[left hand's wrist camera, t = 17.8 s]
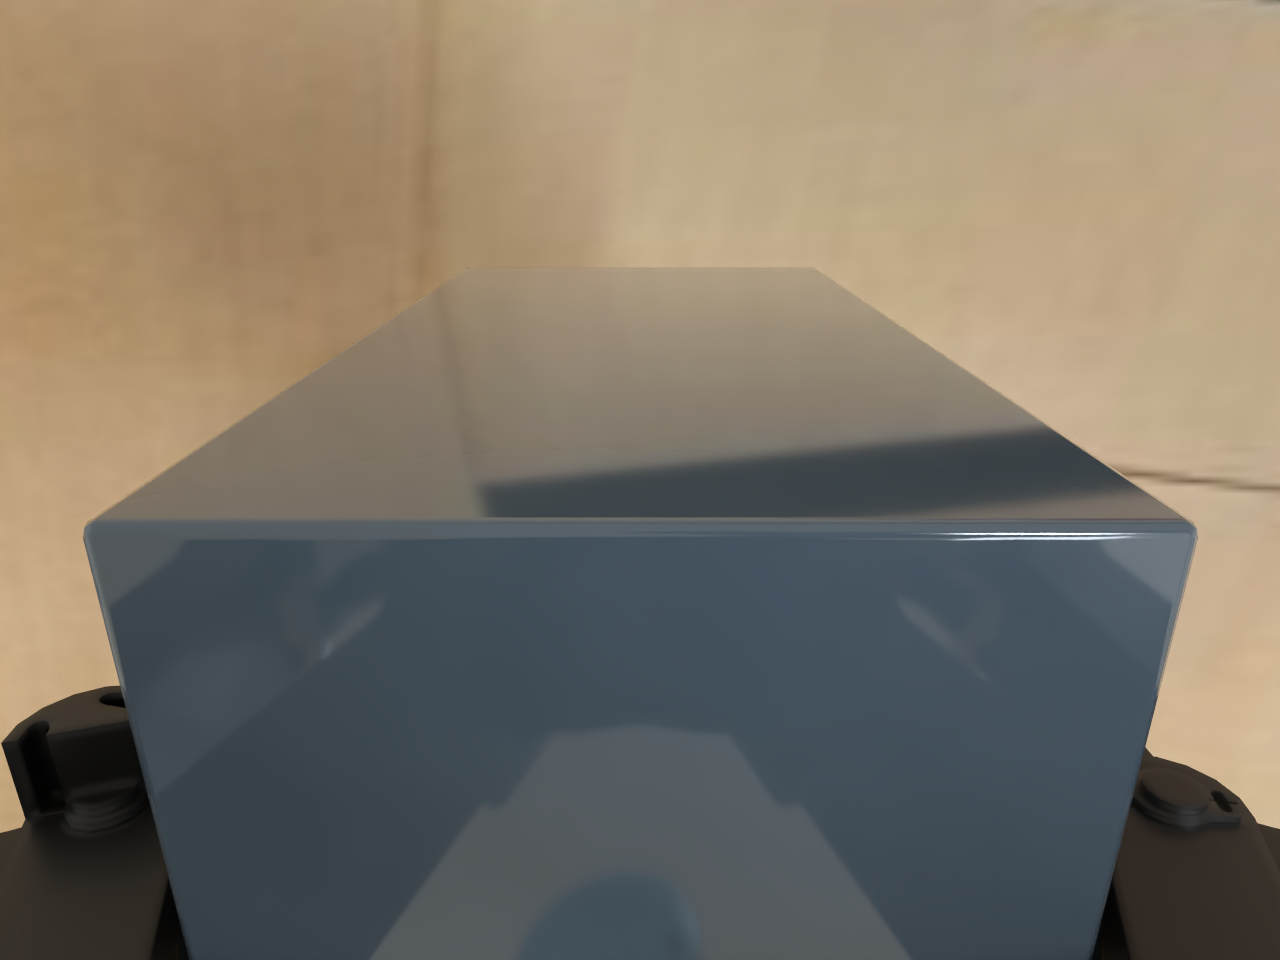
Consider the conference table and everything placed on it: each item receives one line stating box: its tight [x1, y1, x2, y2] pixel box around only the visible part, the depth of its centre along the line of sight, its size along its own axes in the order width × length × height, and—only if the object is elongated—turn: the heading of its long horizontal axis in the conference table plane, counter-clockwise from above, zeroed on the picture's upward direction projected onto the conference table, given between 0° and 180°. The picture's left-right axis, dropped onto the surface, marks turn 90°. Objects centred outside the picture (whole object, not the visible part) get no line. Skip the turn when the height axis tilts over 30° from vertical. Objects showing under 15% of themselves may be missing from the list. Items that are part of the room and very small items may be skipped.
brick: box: [83, 268, 1198, 960], centre depth 12 cm, size 9×6×11 cm
